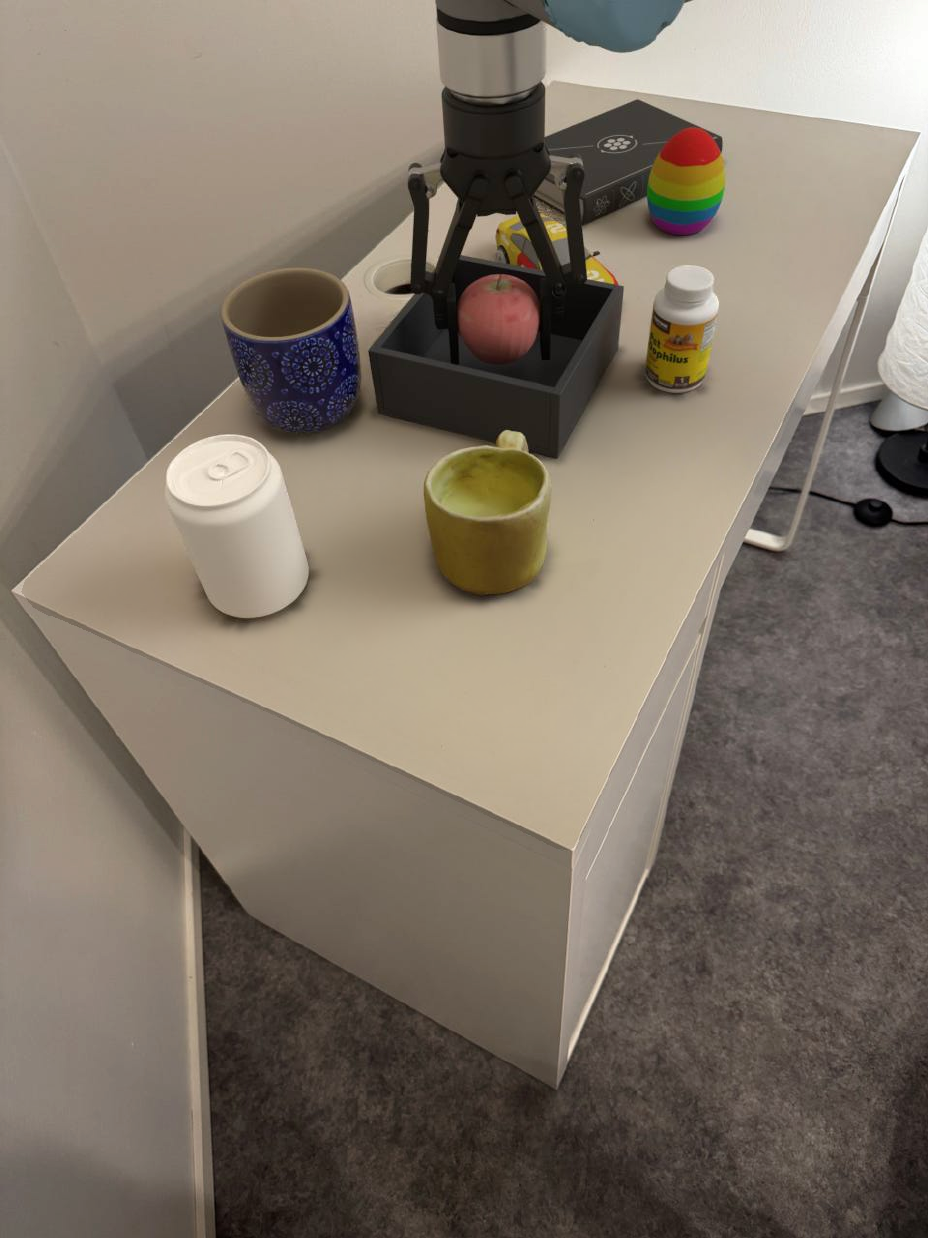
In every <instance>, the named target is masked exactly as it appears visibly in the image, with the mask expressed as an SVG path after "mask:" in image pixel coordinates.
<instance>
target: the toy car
mask: <svg viewBox="0 0 928 1238" xmlns="http://www.w3.org/2000/svg"><path fill="white" fill-rule="evenodd" d="M539 213H540V212H539ZM540 215H541V217H542V220H543V222H544V225H545V227H546V229H547V232H548V234H549V237H550V239H551V242H552V244H553V246H554V249H555V251H556V254H557V256H558V258H559V261H560V263H561V266H562V265H564V264H567V263H569V262H570V257H569V249H568V240H567V232H566V226H564V225H563V224H562V223H560V222H559V221H556V220H554V219H551V218H550V217H549V216H547V215H546V214H544V213H540ZM495 242H496V262H500V263H505V264H511V265H516V266H521V267H526V268H532V269H537V270H542V271H543V268H542V266H541V264H540V262H539V259H538V257H537V255H536V252H535V250H534V248H533V245H532V243H531V241H530V239H529V236H528V234H527V232H526V229H525V227H524V226H523V225H522V223H521V220H520V218H519V216H518V215H515V216H514V217H510V218H508V219H506V220H504V221H502V222H500V223H499V225H498V226H497V228H496V230H495ZM584 251H585V261H586V270H587V279H590V280H595V281H600V282H605V283H611V284H615V285H619V282H618V281H617V278H616V277H615V275H614V274H613V273H612V272H611V271H610V270H609V269H607V268H606V267H605V266H604V265H603V264H602V263H601V262H600V261H599V260H598V259H596V258H595V257H597V256H599V255H601V252H600V251H599V250H596V251H593V252H592V253H591V252H590V251H589V249H587V247H586V246H585V245H584Z"/></svg>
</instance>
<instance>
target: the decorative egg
mask: <svg viewBox="0 0 928 1238" xmlns="http://www.w3.org/2000/svg"><path fill="white" fill-rule="evenodd" d="M722 155H723V154H721V152H720V150H719V148H718V146H717V144H716V142H715V141H714V139H713V138H712V137H711V136H710V135H709V134H708V133H707V132H706V131H704V130H703V129H700V128H696V127H690V128H686V129H684V130H681V131H680V132H678V133H677V134H675V135H674V136H673V137H672V138H671V139H670V140H669V141H668V142H667V143H666V144H665V145H664V147H663V148H662V149H661V151H660V152H659V154H658V156H657V158H656V160H655V162H654V164H653V166H652V169H651V172H650V176H649V180H648V185H647V196H646V202H647V207H648V212H649V214H650V217H651V218H652V220H653V222H654V224H655V225H656V227H658V228H659V229H660V230H662V231H663V232H664V233H665V232H666V233H668V234H671V235H678V236H687V235H692V234H696V233H699V232H700V231H702V230H703V229H705V228H706V227H707V226H708V225H709V224H710V223H711V221H712V220H713V219H714V218H715V216H716V215H717V213H718V211H719V209H720V207H721V204H722V202H723V197H724V194H725V188H726V169H725V163H724V158H723V156H722Z"/></svg>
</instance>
